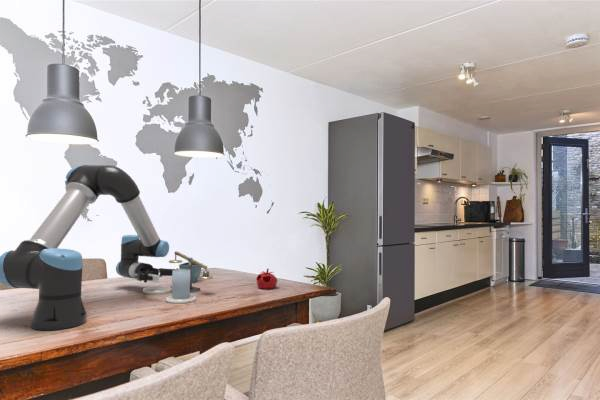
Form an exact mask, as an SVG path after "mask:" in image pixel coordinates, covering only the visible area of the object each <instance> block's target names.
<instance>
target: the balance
mask: <svg viewBox="0 0 600 400" xmlns="http://www.w3.org/2000/svg"><path fill="white" fill-rule="evenodd" d="M177 256H178V257H180V258H182V259H184V260H186V261H187V262H188V269H189V270H190V294H191V293H196V292H200V291H201V288H200V287H196V286H193V282H192V264H193V263H194V264H196V265H198V266H200V267H202V268H201V269H203V270H205V271H203V272H202V275H200V276H199V278H198V280H211V279H213V278H214V276H213V275H210V271H209V270H208V265H205V264H203V263H202V262H199V261H197V260H196V259H193V257H189V256H188V255H185V254H184V253H182V252H179V251H174V259H172V260H171V259H170V260H168V263H169V264H182V263H183V260H181V259H177ZM201 263H202V264H201Z"/></svg>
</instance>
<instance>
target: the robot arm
mask: <svg viewBox="0 0 600 400" xmlns="http://www.w3.org/2000/svg"><path fill="white" fill-rule="evenodd" d="M65 179H66V180H65V181H64V184H65V194H63V196H61V199H60V200H59V201H58V202H57V204H56V205H55V206H54V207H53V209H52V210H51V211H50V213H49V214H48V215H47V217H46V218H45V219H44V221H43V222H42V223H40V224H41V225H39V227H38V229H37V230H36V231H35V232H34V234H33V235H32V236H31V238H29V239H24V240H22V241H21V242H20V243H19V245H18V246H17V247H16V248H15V250H8V251H5V252H4V253H2V254H1V255H0V283H1V284H2V285H3V286H5V287H10V288H13V289H14V288H15V289H33V290H34V289H35V290H38V300H37V304H36V306H35V309H34V311H33V315H32V316H31V319H30V327H31V328H32V329H33V330H38V331H57V330H64V329H70V328H74V327H78V326H81V325H82V324H85V323H86V322H87V317H88V316H87V315H88V314H87V312H86V309H85V305H84V302H83V299H82V287H83V286H82V285H83V284H82V282H83V268H84V265H83V256H82V253H80V252H79V251H77V250H74V249H69V248H59V247H60V245H61V244H62V242H63V241H64V239H65V238H66V236H67V235H68V233H69V232H70V231H71V230H72V229H73V228H72V227H73V226H74V225H75V224H76V222H77V221H78V219H79V218H80V217H81V215H83V212H84V211H85V209H86V208H87V206H88V205H89V204H91V205H92V204H94V203H95V202H96V201H97V199H98V198H99V197H100V196H101V195H102V196H112V197H113V198H114V199H115V202H117V203H118V204H120V205H121V207H122V209H123V211H124V212H125V214H126V216H127V218H128V220H129V221H130V223H131V225H132V227H133V229H134V231H135V233H136V234H126V235H125V234H124V235H123V236H122V237H121V242H120V260H119V261H118V262H117V264H116V265H115V271H116V273H117V275H119V276H121V277H123V278H129V279H135V280H136V281H139V282H143V283H147V282H153V283H156V284H157V283H160V278H162V277H164V276H165V277H169V276H170V277H172V271H173V270H176V269H179V268H162V267H160V268H156V267H154V266H153V265H152V264H151V263H146V262H139V257H146V258H147V257H149V258H165V257H166V256H167V255H168V254H169V251H170V245H169V242H168V241H166V240H164V239H160V236H159V234H158V232H157V230H156V228H155V226H154V224H153V222H152V220H151V217H150V215H149V214H148V212H147V210H146V208H145V205H144V204H143V201H142V199H141V197H140V194H141V191H140V189H139V187H138V185H137V184H136V182H135V181H134V179H133V178H132V177H131V176H130V175H129V174H128V173H127V172H126V171H124V170H123V169H122V168H120V167H118V166H115V165H109V164H107V165H103V164H101V165H96V164H94V165H93V164H91V165H90V164H89V165H88V164H81V165H76V166H74V167H72V168H71V169H69V170H68V172H67V173H66V175H65Z"/></svg>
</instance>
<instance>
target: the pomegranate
mask: <svg viewBox="0 0 600 400" xmlns="http://www.w3.org/2000/svg"><path fill="white" fill-rule="evenodd" d="M269 270H270V269H269V268H267V269H266V272H265V271H261V272H259V274H257V276H256V286H257V288H259V289H265V290H272V289H275V288H277V287H276V286H277V284H278V278H277V277H276V276H275V274H273V271H269Z"/></svg>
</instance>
